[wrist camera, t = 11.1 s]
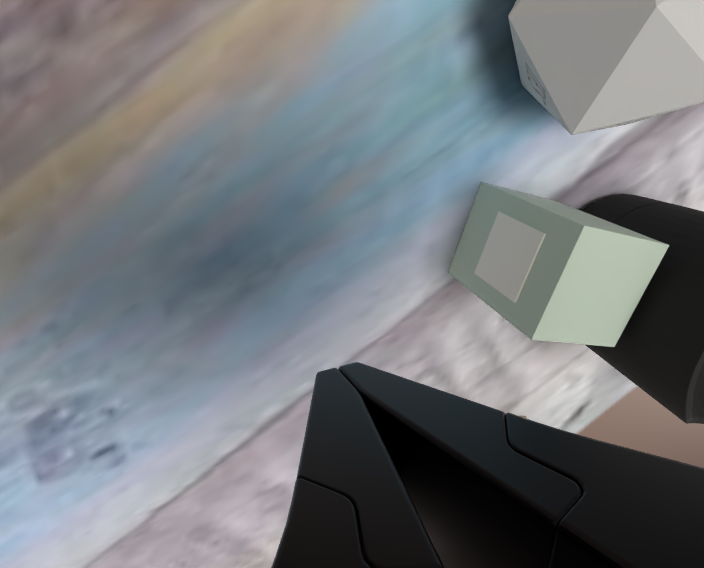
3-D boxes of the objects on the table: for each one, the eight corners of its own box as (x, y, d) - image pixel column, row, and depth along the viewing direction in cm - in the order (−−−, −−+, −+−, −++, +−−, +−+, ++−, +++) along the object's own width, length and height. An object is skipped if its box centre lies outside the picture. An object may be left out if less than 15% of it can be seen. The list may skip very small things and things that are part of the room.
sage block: (446, 271, 25) (529, 339, 19) (479, 181, 23) (582, 225, 17) (518, 282, 27) (614, 346, 21) (554, 200, 25) (669, 245, 19)
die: (428, 50, 20) (586, 204, 17) (558, -222, 14) (854, -64, 11) (531, 52, 25) (671, 172, 22) (664, -152, 19) (892, -27, 15)
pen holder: (553, 353, 31) (697, 468, 22) (510, 249, 26) (674, 344, 17) (667, 272, 31) (852, 354, 22) (646, 152, 26) (874, 199, 17)
